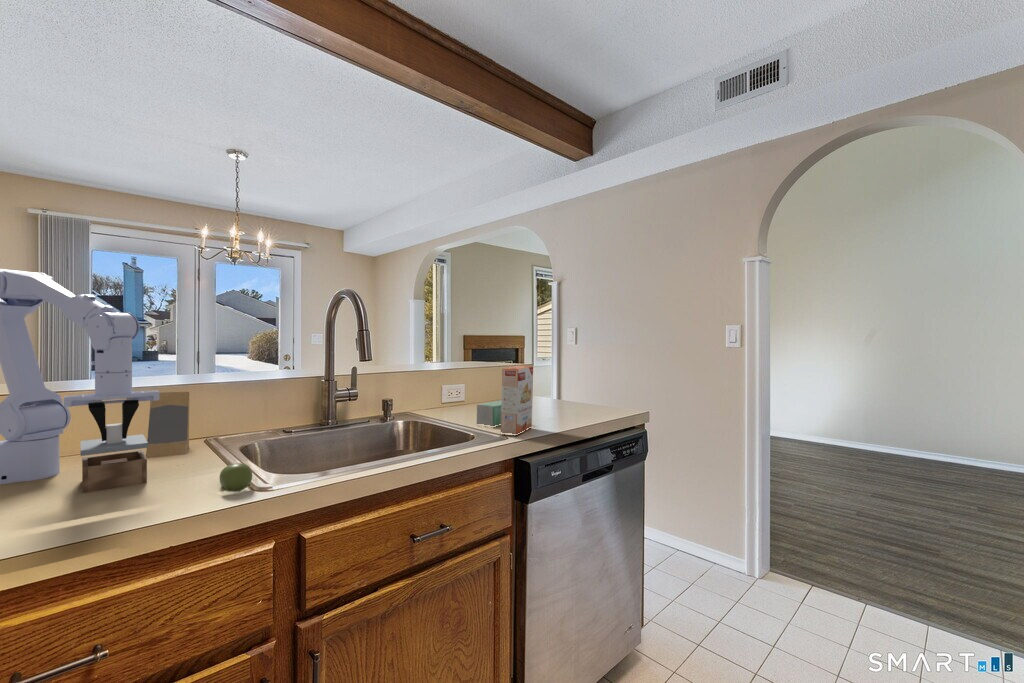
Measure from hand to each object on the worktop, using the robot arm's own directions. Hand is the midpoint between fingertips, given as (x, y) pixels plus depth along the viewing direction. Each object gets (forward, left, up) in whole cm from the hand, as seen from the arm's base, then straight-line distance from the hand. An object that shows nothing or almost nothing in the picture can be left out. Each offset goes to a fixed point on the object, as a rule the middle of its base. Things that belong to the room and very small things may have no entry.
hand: (114, 438), depth 95 cm
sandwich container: (+11, +23, -10) cm, 27 cm away
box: (+101, -1, -10) cm, 102 cm away
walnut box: (0, 0, -9) cm, 9 cm away
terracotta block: (0, 0, -9) cm, 9 cm away
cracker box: (+98, -15, -10) cm, 100 cm away
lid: (0, 0, -2) cm, 2 cm away
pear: (+18, -16, -10) cm, 26 cm away
